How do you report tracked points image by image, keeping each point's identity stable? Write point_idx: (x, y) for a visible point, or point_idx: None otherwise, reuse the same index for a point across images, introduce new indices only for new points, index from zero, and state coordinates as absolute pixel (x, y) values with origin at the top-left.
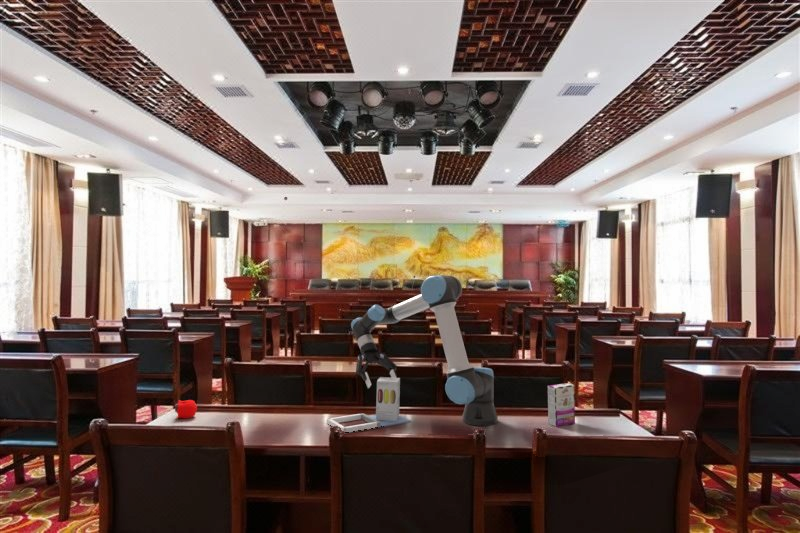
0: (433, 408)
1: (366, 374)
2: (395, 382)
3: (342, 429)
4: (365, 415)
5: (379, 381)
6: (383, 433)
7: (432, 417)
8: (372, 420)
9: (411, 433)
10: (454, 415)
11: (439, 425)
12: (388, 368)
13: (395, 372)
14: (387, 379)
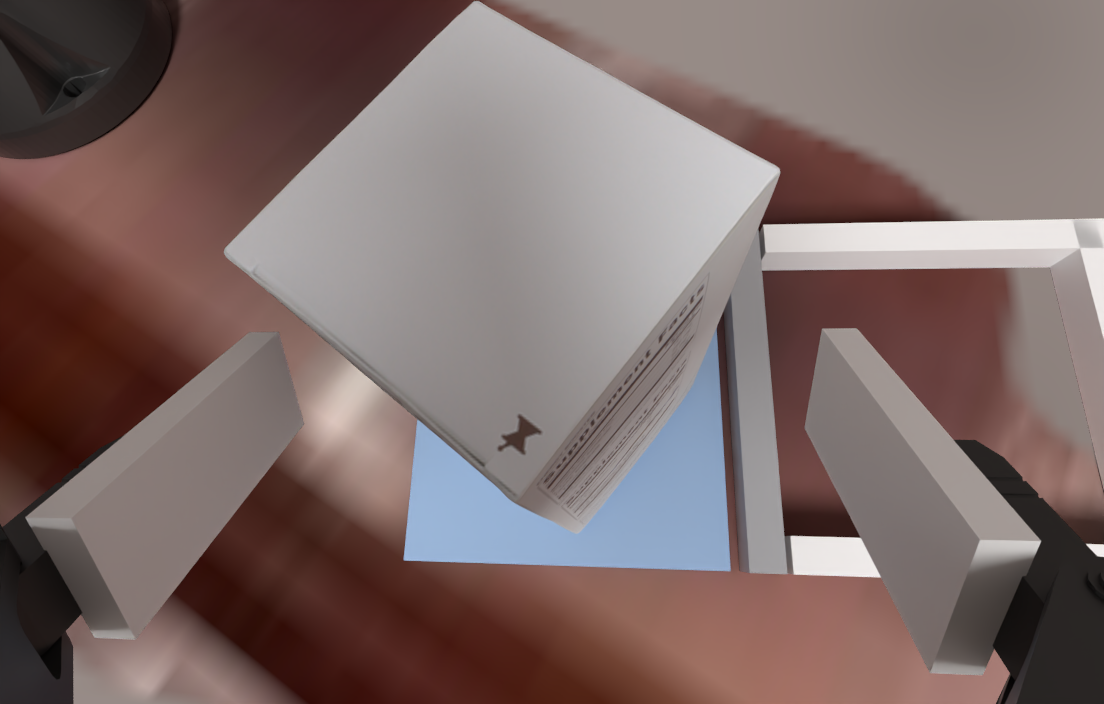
0: (6, 493)
1: (969, 479)
2: (506, 20)
3: (1101, 226)
4: (764, 478)
5: (740, 147)
6: (770, 117)
7: (228, 269)
8: (764, 314)
9: (598, 44)
10: (66, 234)
11: (334, 97)
12: (43, 692)
13: (59, 488)
14: (536, 180)
